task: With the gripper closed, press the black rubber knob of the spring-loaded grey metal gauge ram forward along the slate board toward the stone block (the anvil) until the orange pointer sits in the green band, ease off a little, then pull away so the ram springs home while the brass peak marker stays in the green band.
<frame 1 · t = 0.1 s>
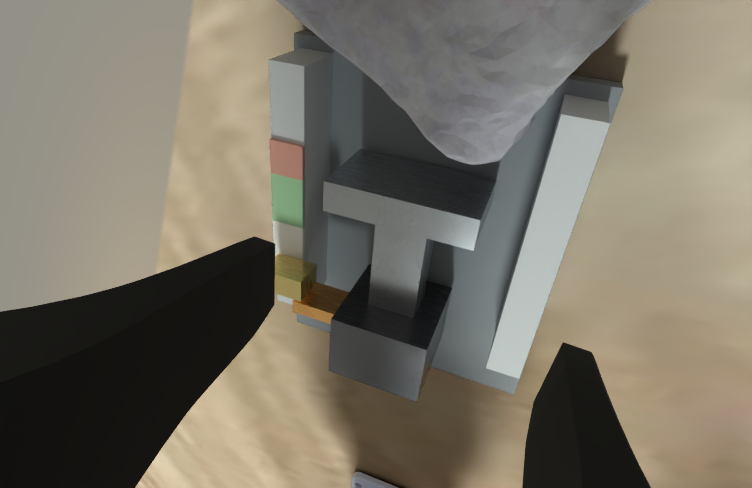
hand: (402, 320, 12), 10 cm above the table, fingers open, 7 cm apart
peak marker: (289, 276, 21), point 4 cm above the table, slide at 0.0 cm
gauge ram: (384, 274, 20), point 3 cm above the table, slide at 0.0 cm
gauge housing: (412, 287, 24), on the table
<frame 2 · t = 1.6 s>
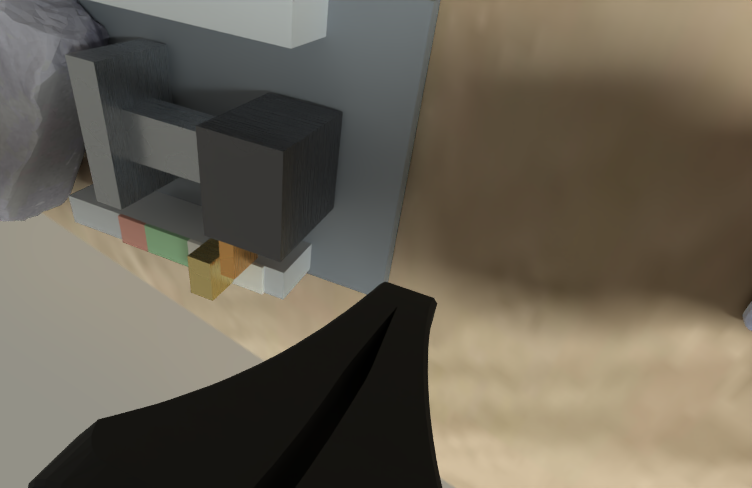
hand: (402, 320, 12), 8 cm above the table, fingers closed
peak marker: (211, 269, 19), point 4 cm above the table, slide at 0.0 cm
stone block: (25, 62, 23), on the table, touching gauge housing
gauge ram: (208, 167, 18), point 3 cm above the table, slide at 0.0 cm
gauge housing: (315, 143, 20), on the table
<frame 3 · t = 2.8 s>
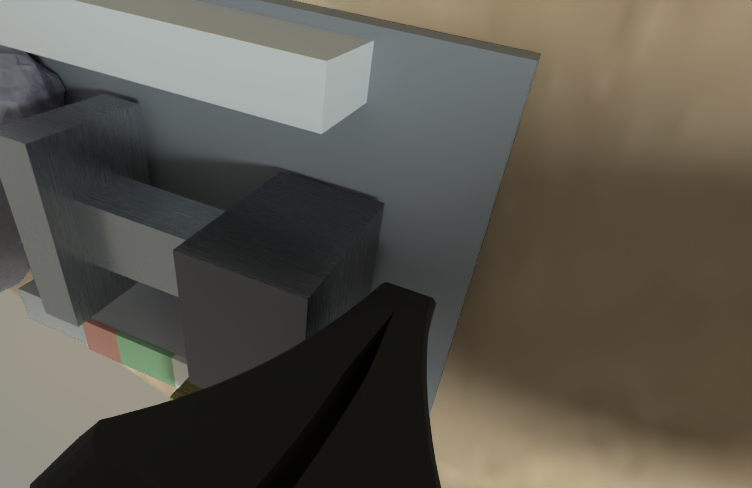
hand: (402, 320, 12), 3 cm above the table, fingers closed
peak marker: (203, 405, 14), point 4 cm above the table, slide at 0.0 cm
gauge ram: (195, 274, 13), point 3 cm above the table, slide at 0.1 cm, touching gripper
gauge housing: (343, 231, 15), on the table
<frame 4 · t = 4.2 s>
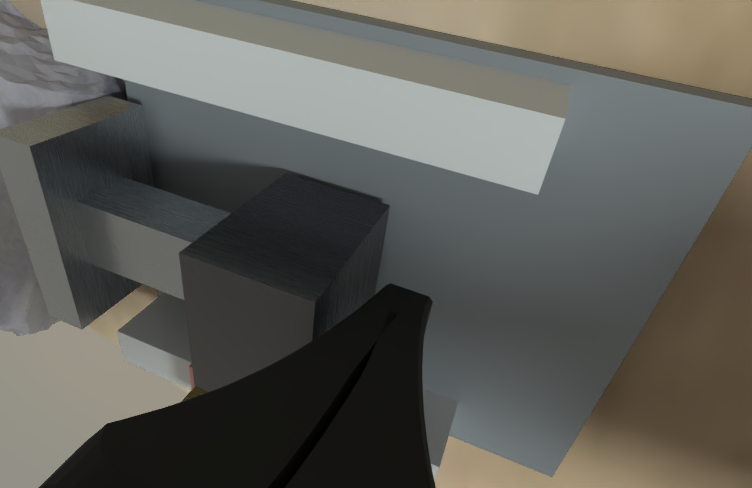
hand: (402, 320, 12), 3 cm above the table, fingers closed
peak marker: (214, 410, 14), point 4 cm above the table, slide at 3.9 cm
stone block: (24, 136, 19), on the table
gauge ram: (200, 276, 13), point 3 cm above the table, slide at 4.2 cm, touching gripper
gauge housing: (481, 276, 14), on the table
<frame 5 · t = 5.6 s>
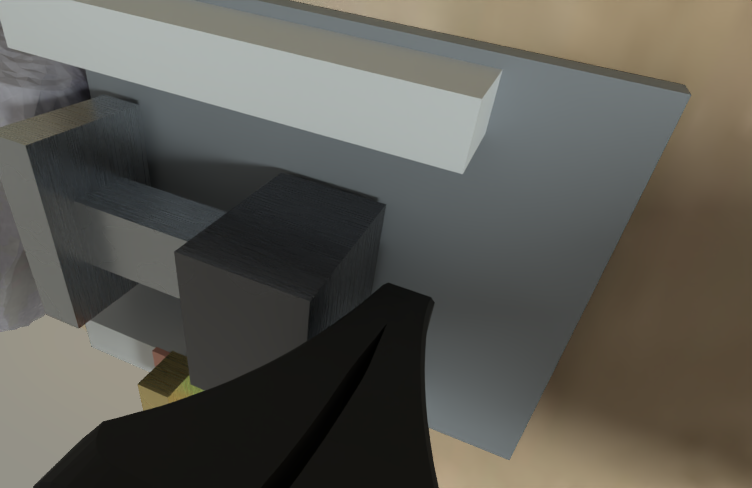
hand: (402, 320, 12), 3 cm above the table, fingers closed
peak marker: (173, 393, 14), point 4 cm above the table, slide at 3.9 cm
stone block: (3, 136, 19), on the table
gauge ram: (196, 275, 13), point 3 cm above the table, slide at 2.9 cm, touching gripper
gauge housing: (434, 262, 14), on the table
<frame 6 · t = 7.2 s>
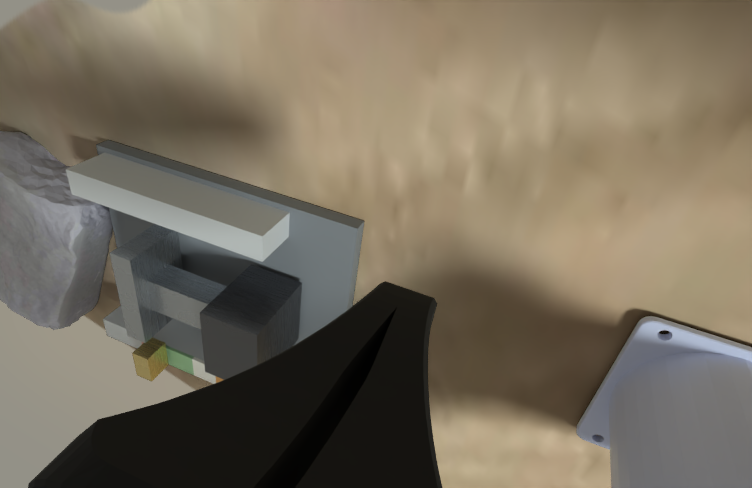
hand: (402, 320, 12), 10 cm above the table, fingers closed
peak marker: (151, 358, 28), point 4 cm above the table, slide at 3.9 cm
stone block: (55, 214, 32), on the table
gauge ram: (207, 316, 26), point 3 cm above the table, slide at 0.0 cm
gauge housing: (285, 290, 27), on the table
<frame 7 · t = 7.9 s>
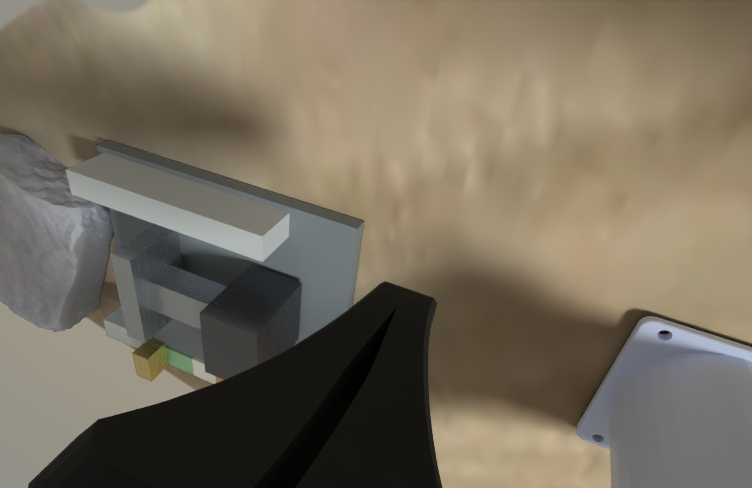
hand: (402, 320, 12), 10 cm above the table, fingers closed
peak marker: (151, 359, 28), point 4 cm above the table, slide at 3.9 cm
stone block: (56, 217, 32), on the table
gauge ram: (207, 317, 26), point 3 cm above the table, slide at 0.0 cm
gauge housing: (285, 290, 27), on the table
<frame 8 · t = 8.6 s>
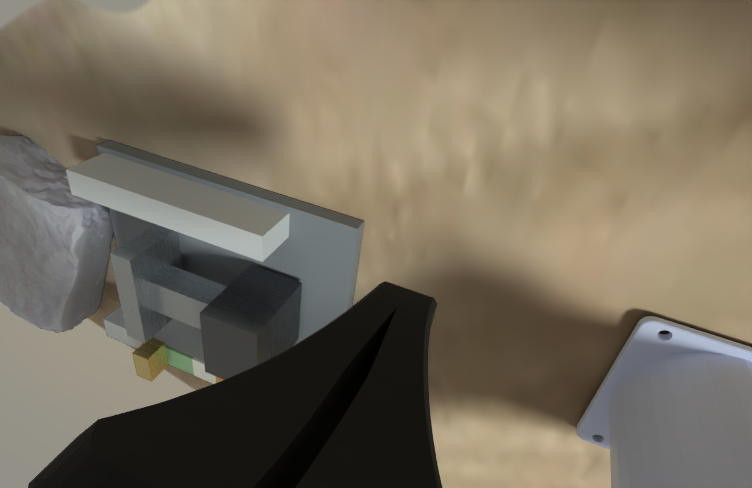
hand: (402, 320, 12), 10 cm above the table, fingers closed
peak marker: (151, 359, 28), point 4 cm above the table, slide at 3.9 cm
stone block: (56, 218, 32), on the table
gauge ram: (207, 317, 26), point 3 cm above the table, slide at 0.0 cm
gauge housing: (285, 290, 27), on the table
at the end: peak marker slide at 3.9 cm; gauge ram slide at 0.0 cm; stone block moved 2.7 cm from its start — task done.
